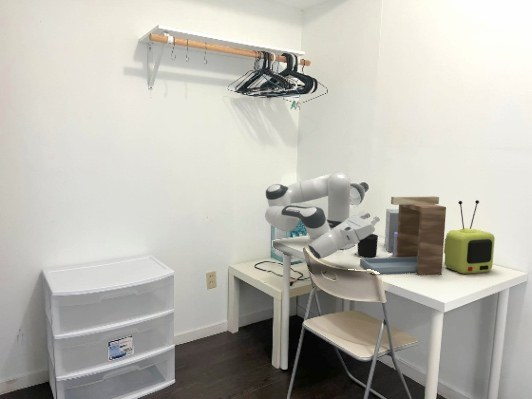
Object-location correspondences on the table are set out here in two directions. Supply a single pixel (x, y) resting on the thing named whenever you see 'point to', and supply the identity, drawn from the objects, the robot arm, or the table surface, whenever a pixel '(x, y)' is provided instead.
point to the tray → (391, 265)
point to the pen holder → (368, 246)
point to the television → (469, 249)
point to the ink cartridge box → (394, 244)
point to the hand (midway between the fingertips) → (373, 216)
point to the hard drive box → (391, 227)
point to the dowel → (414, 200)
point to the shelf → (422, 236)
